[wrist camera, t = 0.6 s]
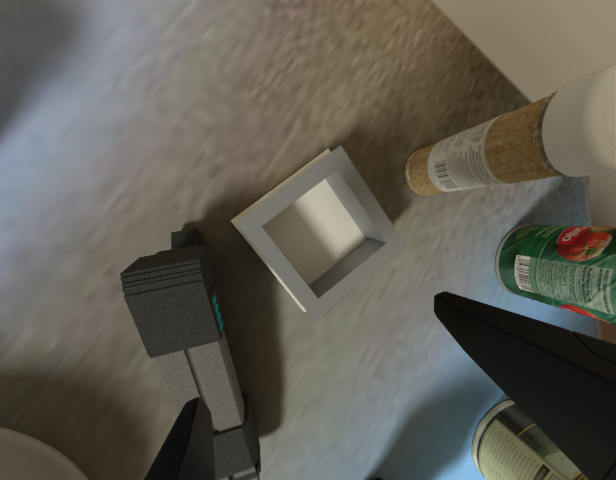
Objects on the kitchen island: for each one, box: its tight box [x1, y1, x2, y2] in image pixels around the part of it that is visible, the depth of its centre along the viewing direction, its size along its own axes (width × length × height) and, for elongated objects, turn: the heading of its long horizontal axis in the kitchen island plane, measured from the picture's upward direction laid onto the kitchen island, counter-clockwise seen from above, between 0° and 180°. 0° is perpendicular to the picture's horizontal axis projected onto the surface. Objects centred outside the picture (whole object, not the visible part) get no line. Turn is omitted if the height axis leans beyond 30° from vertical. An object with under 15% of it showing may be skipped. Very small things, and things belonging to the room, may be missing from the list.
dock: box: [231, 145, 406, 321], centre depth 20 cm, size 10×10×4 cm
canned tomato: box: [495, 224, 616, 324], centre depth 22 cm, size 8×8×11 cm
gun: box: [120, 228, 261, 480], centre depth 19 cm, size 4×20×10 cm, turn 10°
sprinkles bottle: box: [405, 65, 616, 196], centre depth 17 cm, size 5×5×13 cm
